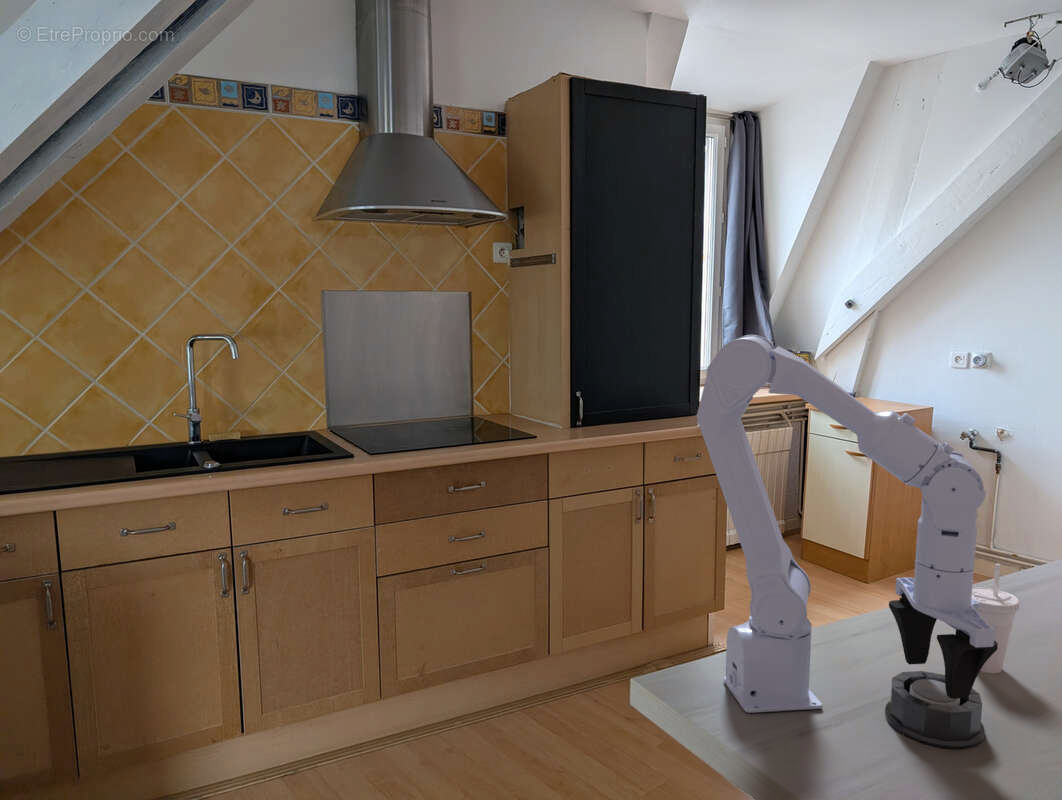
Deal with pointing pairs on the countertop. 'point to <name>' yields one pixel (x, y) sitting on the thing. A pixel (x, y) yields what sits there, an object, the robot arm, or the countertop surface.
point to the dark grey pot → (934, 715)
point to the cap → (932, 692)
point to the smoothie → (996, 618)
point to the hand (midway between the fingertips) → (935, 679)
